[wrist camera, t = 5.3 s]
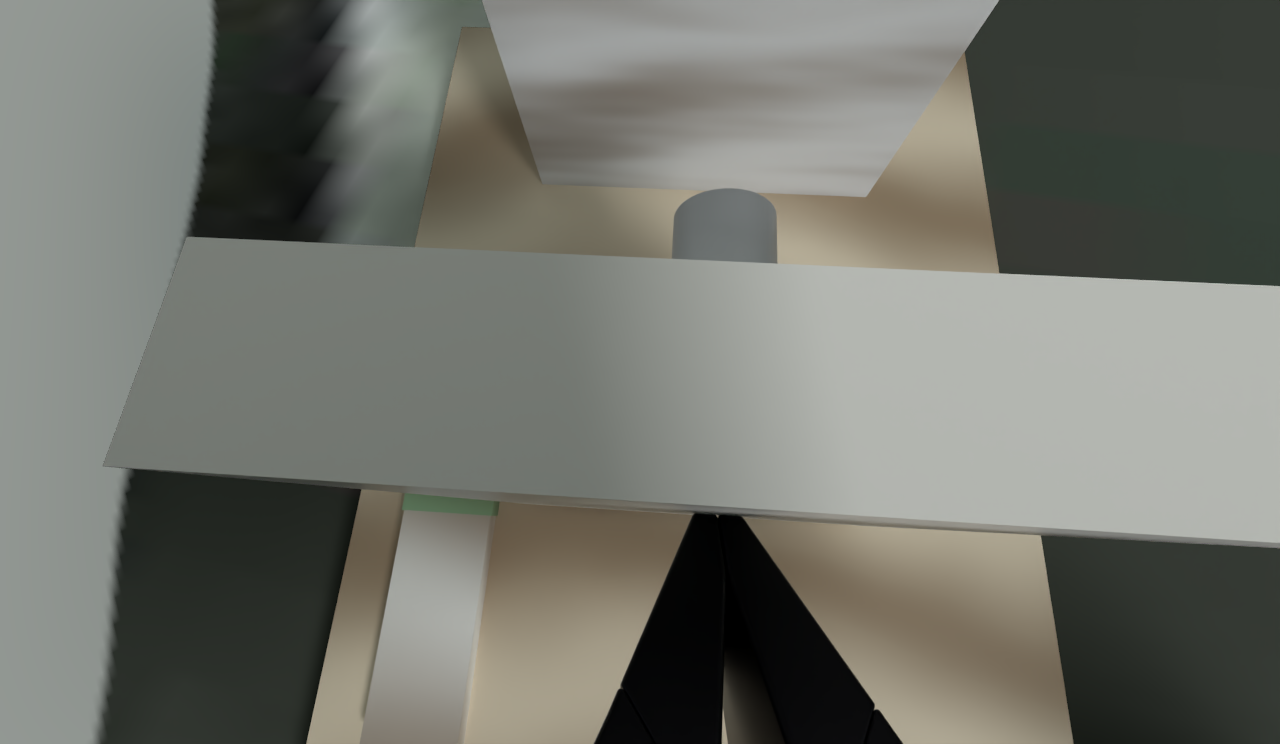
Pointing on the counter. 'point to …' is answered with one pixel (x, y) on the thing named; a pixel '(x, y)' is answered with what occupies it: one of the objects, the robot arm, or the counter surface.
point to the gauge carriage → (721, 385)
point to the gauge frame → (643, 227)
